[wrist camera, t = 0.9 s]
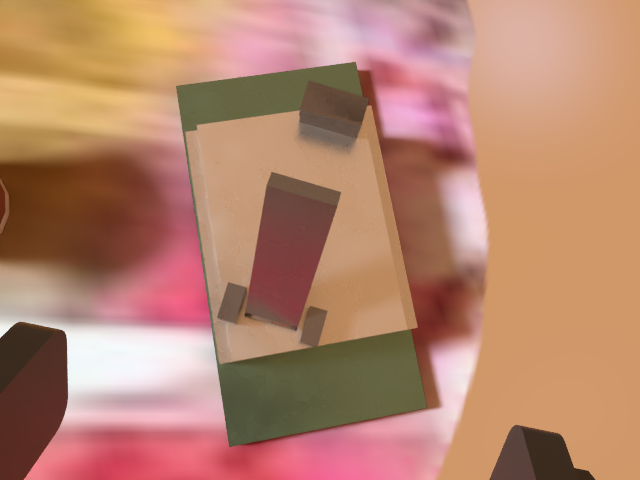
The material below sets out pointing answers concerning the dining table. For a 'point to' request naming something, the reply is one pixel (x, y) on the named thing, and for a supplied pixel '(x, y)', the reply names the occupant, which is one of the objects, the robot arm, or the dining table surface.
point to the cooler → (334, 266)
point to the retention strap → (288, 248)
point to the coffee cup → (3, 206)
